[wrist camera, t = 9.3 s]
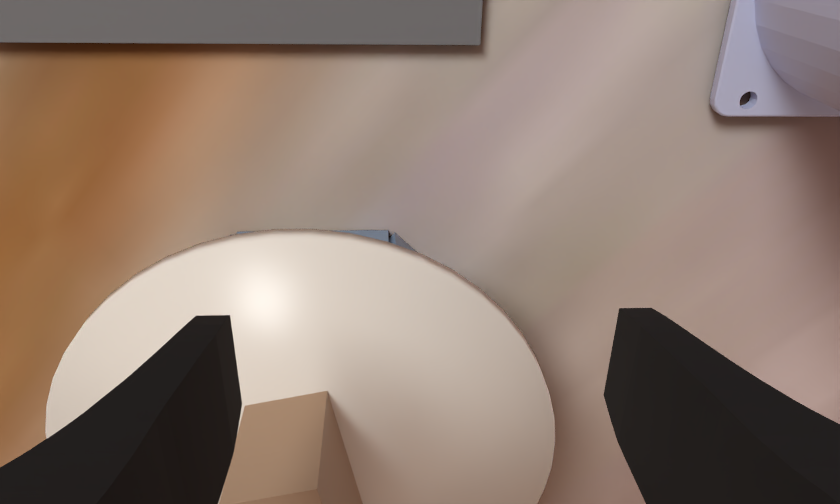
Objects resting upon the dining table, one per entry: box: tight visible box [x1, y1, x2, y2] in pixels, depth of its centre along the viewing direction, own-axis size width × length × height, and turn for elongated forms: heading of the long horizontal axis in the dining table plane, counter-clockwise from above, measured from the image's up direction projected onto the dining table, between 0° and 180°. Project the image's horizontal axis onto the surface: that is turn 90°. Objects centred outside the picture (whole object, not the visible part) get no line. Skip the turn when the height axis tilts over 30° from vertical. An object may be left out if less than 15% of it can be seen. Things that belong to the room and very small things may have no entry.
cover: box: [45, 229, 555, 504], centre depth 19 cm, size 15×15×4 cm
